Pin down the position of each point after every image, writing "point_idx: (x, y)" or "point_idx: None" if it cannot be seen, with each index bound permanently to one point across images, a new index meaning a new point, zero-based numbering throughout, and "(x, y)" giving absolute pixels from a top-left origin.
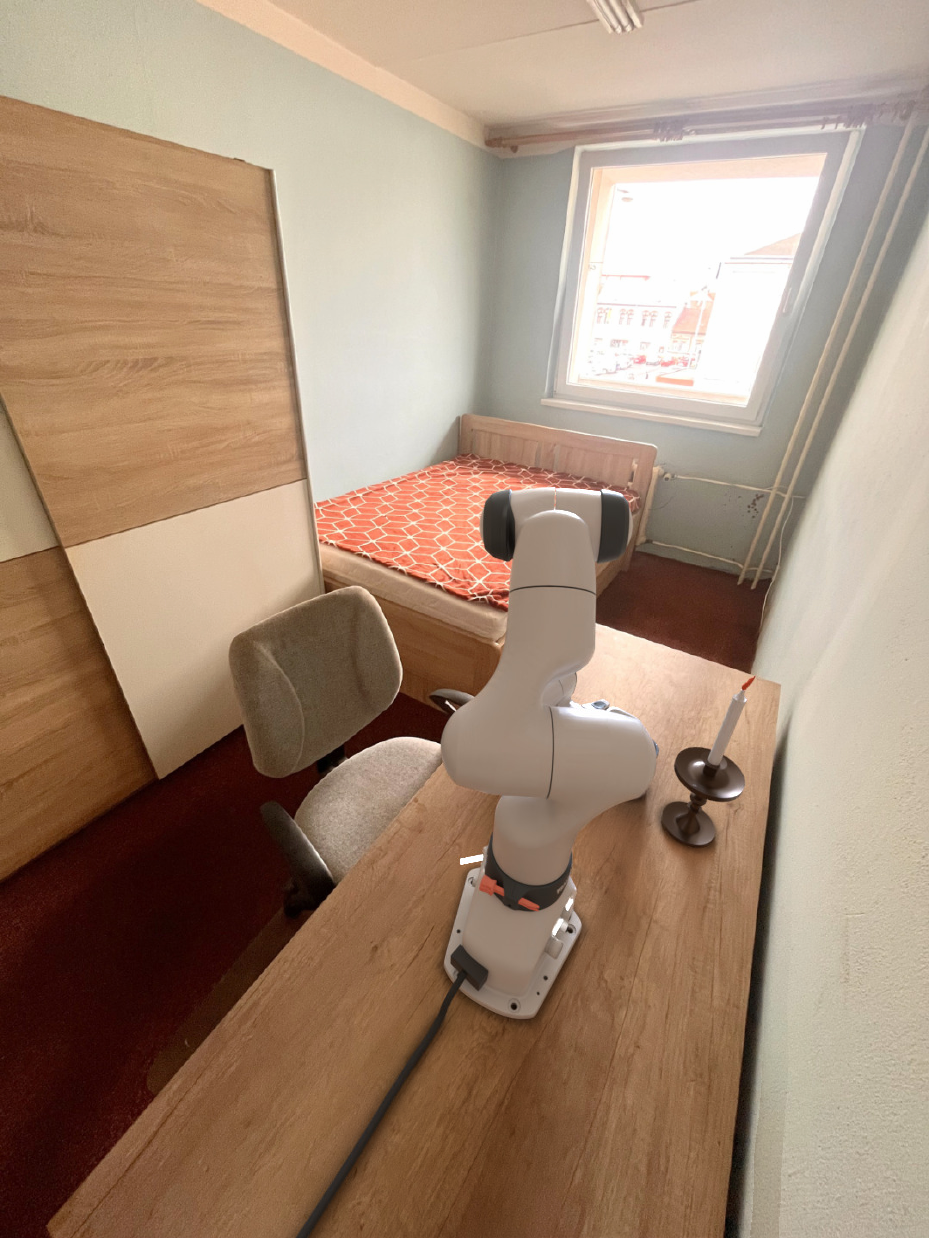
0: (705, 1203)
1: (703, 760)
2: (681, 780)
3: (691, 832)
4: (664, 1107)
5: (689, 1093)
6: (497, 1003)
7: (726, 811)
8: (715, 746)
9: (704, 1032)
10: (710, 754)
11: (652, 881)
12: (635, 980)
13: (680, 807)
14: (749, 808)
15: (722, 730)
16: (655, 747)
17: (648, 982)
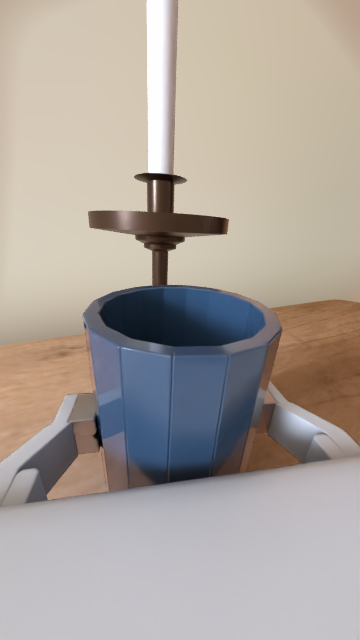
0: (337, 300)
1: (181, 177)
2: (226, 228)
3: None
4: (347, 310)
5: (326, 308)
6: None
7: (83, 352)
8: (173, 121)
9: (299, 311)
10: (170, 158)
11: (277, 355)
12: (345, 332)
13: None
14: (54, 342)
15: (176, 49)
16: (133, 293)
17: (332, 328)
